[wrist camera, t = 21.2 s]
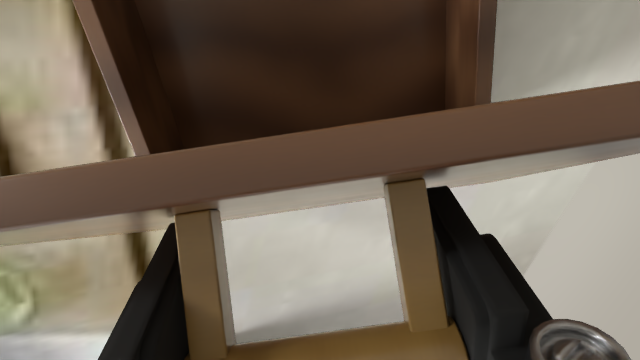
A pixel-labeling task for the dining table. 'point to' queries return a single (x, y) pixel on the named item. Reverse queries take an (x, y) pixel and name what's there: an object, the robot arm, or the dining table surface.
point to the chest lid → (323, 204)
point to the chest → (284, 64)
